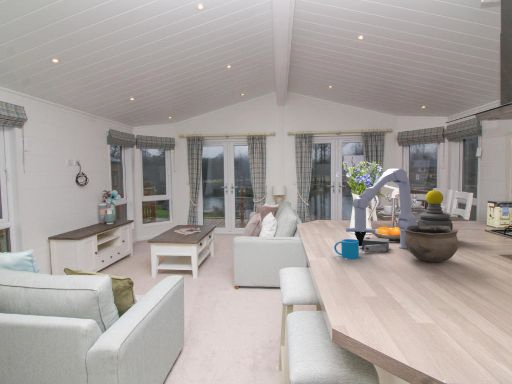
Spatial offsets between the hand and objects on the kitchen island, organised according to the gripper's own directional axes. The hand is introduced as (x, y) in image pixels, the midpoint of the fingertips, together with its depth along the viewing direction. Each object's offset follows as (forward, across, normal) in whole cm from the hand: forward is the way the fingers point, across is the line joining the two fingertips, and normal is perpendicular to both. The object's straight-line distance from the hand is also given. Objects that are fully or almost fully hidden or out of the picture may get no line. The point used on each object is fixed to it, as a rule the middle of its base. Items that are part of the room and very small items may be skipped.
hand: (360, 246), depth 166 cm
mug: (+3, -5, -13) cm, 14 cm away
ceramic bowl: (+3, +32, -6) cm, 33 cm away
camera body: (+3, +7, +9) cm, 12 cm away
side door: (+3, +8, +1) cm, 8 cm away
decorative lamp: (+3, +36, +42) cm, 55 cm away
